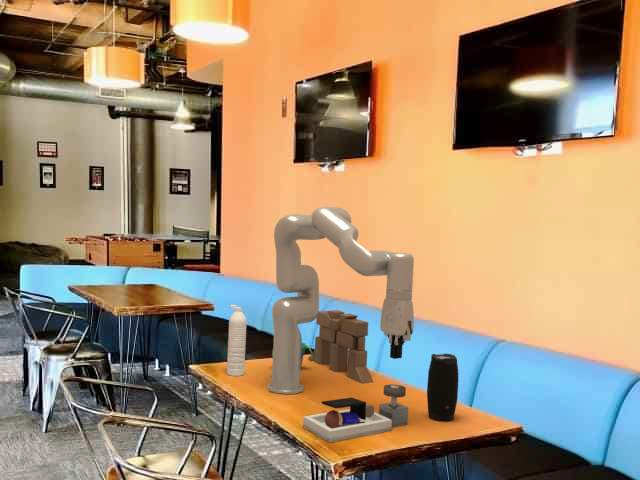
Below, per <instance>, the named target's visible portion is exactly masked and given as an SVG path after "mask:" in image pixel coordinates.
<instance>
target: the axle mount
mask: <svg viewBox="0 0 640 480" xmlns="http://www.w3.org/2000/svg"><path fill="white" fill-rule="evenodd" d="M378 405H379V406H378V407H379V408H378V414H380V415H382V416H384V417H386V418H389V419H391V420H392V428H394V427H395V428H396V427H400V426H406V425H408V423H409V407H408V406H406V405H404V404H401V403H399V402H397V407H394V408H393V407H391V401H390V402H384V403H379V404H378Z"/></svg>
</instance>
